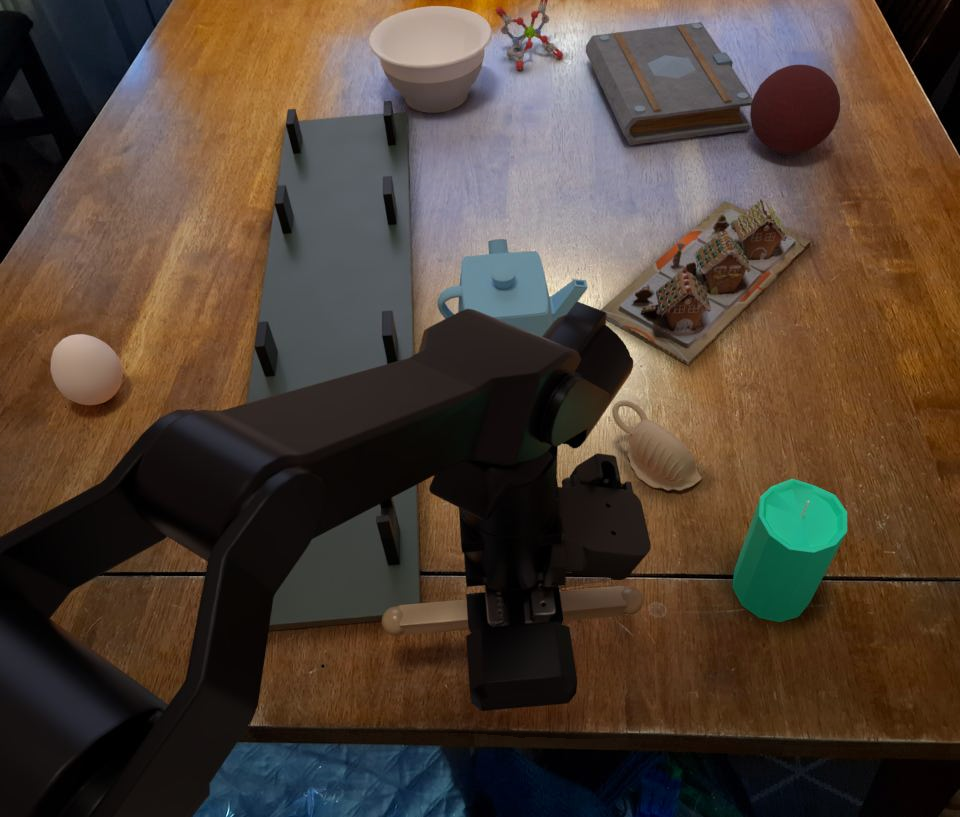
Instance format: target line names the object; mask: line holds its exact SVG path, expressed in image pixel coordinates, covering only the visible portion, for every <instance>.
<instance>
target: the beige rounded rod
mask: <svg viewBox="0 0 960 817" xmlns="http://www.w3.org/2000/svg"><path fill="white" fill-rule="evenodd" d="M559 591H560V598H561V605H562V612H563V622H570V621H571V622H572V621H580V620H581V621H583V620H591V619H593V620H595V619H604V618H615V617H625V616H626V615H629V616H630V615H631V616H632V615H635V614H637V613H639V612H640V611H641V609H642V608H643V606H644V596H643V594H642V592H641V591H640V589H638V588H637V587H635V586H633V585H613V586H602V587H591V588H581V589H580V588H579V589H568V590H559ZM381 625H382V628H383V630H384V631H385V632H386V633H387V634H388V635H390V636H400V635H401V636H411V635H422V634H433V633H434V634H435V633H445V632H457V631H468V630H469V628H468V615H467V599H466V598H465V599H455V600H445V601H443V600H442V601H434V602H421V603H420V604H409V605H399V607H398V606H394V607H391V608H389V609H387V610H386V611H385V613H384V614H383V617H382V621H381ZM469 631H470V630H469Z"/></svg>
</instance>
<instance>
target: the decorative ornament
mask: <svg viewBox="0 0 960 817" xmlns="http://www.w3.org/2000/svg"><path fill="white" fill-rule="evenodd" d="M621 407H627V408H629V409H632V410H633V411H634V412H635V413H636V414H637V415H638V417H639V418H640V421H639V422H638V423H637V424H636V425H635V427H634V428H632V427H630V426H628V425H626V423H624V422H623V420H622V419H621V417H620V415H619V410H620V408H621ZM611 413H612V419H613V420H614V423H615V424H616V425H617V426H618V427H619V429H621V430H622V431H623V432H625V433H626V434H629V439H628V446H627V457H628V459H629V462H630V463H629V464H630V467H631V468H632V469H633V471H634V473H635V476H636V477H637V479H639V480H640V481H642V482H644V483H645V484H646V485H647V486H649V487H650V488H653V489H663V490H665V491H667V492H668V491H669V492H670V491H672V490H674V491H678V492H679V491H680V492H681V491H684V490H686V489H689V488H691V487H694V486H695V485H696V484H698V483H699V482H700V481H701V480H703V477H702V475H700V473H699V472H698V470H697V467H696V466H697V465H696V460H695V458H694V456H693V454H692V452H691V451H690V449H689V448H688V447H687V446H686V445H685V444H684V443H683V442H682V441H681V440H680V439H679V438H678V437H676V436H675V435H674V434H673V433H672V432H671V431H669V430H668V429H666V428H665V427H664V426H662V425H661V424H660V423H657V422H656V421H654V420H650V419H648V417H647V414H646V412H645V411H644V409H642V407H640V406H639V405H638V404H637V403H634V402H632V401H630V400H625V399H622V400H618V401H617V402H616V403H614V405H613V406H612V409H611Z"/></svg>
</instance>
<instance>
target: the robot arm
mask: <svg viewBox="0 0 960 817" xmlns="http://www.w3.org/2000/svg"><path fill="white" fill-rule="evenodd" d="M453 314H454V315H452V316H450V317H448V318H446V319H445V318H444V319H443V320H440V321H438V322H437V323H434V324H432V325H431V326H429V327H427V328H426V329H424V331H423V334H422V338H421V342H420V346H419V350H418V352H416V353H414V355H413V356H411V357H410V358H407V359H404V360H400V361H396V362H393V363H389V364H386V365H382V366H379V367H375V368H372V369H368V370H364V371H361V372H357V373H354V374H350V375H347V376H343V377H339V378H336V379H332V380H329V381H325V382H322V383H318V384H315V385H311V386H307V387H304V388H300V389H297V390H293V391H290V392H286V393H282V394H279V395H275V396H272V397H268V398H265V399H261V400H258V401H254V402H250V403H247V404H246V403H244V404H239V405H236V406H233V407H229V408H226V409H222V410H211V409H199V410H196V409H194V408H190V409H176V410H173V411H171V412H169V413H167V414H165V415H163V416H161V417H159V418H158V419H156V421H155V422H153V423H152V424H151V425H150V426H149V427H148V428H147V429H146V430H145V431H144V432H143V433H141V435H140V436H139V437H138V438H137V440H135V442H134V443H133V444H132V445H131V447H130V448H129V449H128V451H127V452H126V453H125V454H124V455H123V456H122V458H121V459H120V460H119V461H118V463H116V464H115V466H114V467H113V469H112V470H111V471H110V472H109V473H108V475H107V476H106V477H105V478H104V479H103V480H102V481H101V482H99V483H96V484H95V485H93V486H92V487H89V488H88V489H86V490H85V491H82V492H81V493H79V494H77V495H75V496H73V497H71V498H70V499H68V500H66V501H63V502H62V503H60V504H58V505H56V506H55V507H53V508H51V509H49V510H47V511H45V512H44V513H42V514H40V515H38V516H36V517H35V518H32V519H31V520H29V521H27V522H25V523H24V524H22V525H19V526H18V527H16V528H14V529H11V530H10V531H9V532H7V533H5V534H3V535H1V536H0V817H193V816H194V815H195V814H196V813H197V812H198V811H199V810H200V808H201V807H202V805H203V804H205V802H206V801H207V799H208V798H209V797H210V796H211V785H210V784H211V782H212V781H213V780H214V778H215V777H216V775H217V774H218V773H219V771H220V769H221V768H222V766H223V765H224V763H225V762H226V760H227V759H228V757H229V755H231V753H232V751H233V749H234V748H235V747H236V745H237V743H238V742H239V740H240V739H241V737H242V736H243V734H245V732H246V730H247V728H248V727H249V725H250V724H251V723H252V721H253V719H254V717H255V714H256V712H257V709H258V706H259V703H260V702H259V701H260V700H259V699H260V694H261V686H262V679H263V673H264V668H265V659H266V652H267V646H268V638H269V633H270V631H269V625H270V619H271V612H272V605H273V598H274V596H275V593H276V592H277V590H278V589H279V588H280V586H281V585H282V583H283V582H284V580H285V579H286V578H287V576H288V575H289V573H290V572H291V570H292V569H293V567H294V566H295V565H296V563H297V562H298V560H299V559H300V557H301V556H302V555H303V553H304V552H305V550H306V549H307V547H308V545H309V544H310V542H311V540H312V539H314V538H316V537H317V536H319V535H321V534H323V533H325V532H327V531H329V530H331V529H333V528H335V527H337V526H339V525H340V524H342V523H344V522H346V521H348V520H350V519H352V518H354V517H356V516H358V515H360V514H362V513H363V512H365V511H367V510H369V509H371V508H373V507H375V506H377V505H379V504H381V503H383V502H384V501H386V500H388V499H390V498H392V497H394V496H396V495H398V494H400V493H402V492H404V491H406V490H407V489H409V488H411V487H413V486H415V485H417V484H418V485H419V484H421V483H423V482H425V481H426V480H428V479H430V478H432V480H431V482H430V485H429V486H428V489H429V490H428V491H429V493H430V494H431V495H433V496H435V497H437V498H439V499H441V500H443V501H445V502H447V503H449V504H451V505H452V506H455V507H457V508H458V516H459V517H458V518H459V519H458V520H459V532H460V533H459V534H460V546H461V547H460V548H461V553H463V559H464V576H465V584H466V588H470V587H481V586H482V587H484V591H483V592H481V591H480V592H471V593H466V595H465V597H466V598H465V599H467V615H468V628H469V634H467V635H466V636H465V638H466V655H467V669H468V671H467V672H468V686H469V687H468V689H469V695H470V701H471V704H472V705H473V706H474V707H476V708H477V709H478V710H480V711H481V712H488V711H499V710H510V709H523V708H534V707H535V708H536V707H543V706H544V707H545V706H556V705H568V704H569V703H570V702H571V701H572V699H573V698H574V697H575V696H576V694H577V691H578V675H577V669H576V663H575V654H574V649H573V641H572V634H571V628H570V626H568V625H565V624H563V623H564V621H563V612H562V605H561V598H560V591H561V590H560V587H563V586H566V577H567V576H566V574H569V573H570V574H573V575H577V576H587V577H595V578H596V577H597V578H606V579H607V578H608V579H610V580H612V581H624V580H626V579H627V578H628V577H629V576H630V575H631V574H632V572H634V570H635V569H636V568H637V567H638V565H640V563H641V562H642V561H643V560H644V558H645V557H646V556H647V555H648V554H649V552H650V551H651V548H652V547H651V546H652V544H651V539H650V534H649V529H648V526H647V521H646V516H645V512H644V510H643V509H644V508H643V504H642V501H641V499H640V498H639V496H638V495H637V494H635V493H634V489H633V485H632V481H625V482H624V483H622V480H621V474H620V469H619V465H618V461H617V460H618V459H617V456H616V455H613V454H608V453H607V454H606V453H599V452H598V453H595V454H593V455H592V456H590V457H589V458H587V459H585V460H584V461H582V462H581V463H579V464H578V465H576V466H575V467H574V468H573V471H572V472H571V474H570V475H569V477H565V478H563V479H562V480H561V486H559V483H558V447H559V446H561V445H568V446H569V447H570V448H572V449H573V450H574V449H578V448H579V447H581V446H582V445H583V444H584V443H585V442H586V440H587V439H588V437H589V436H590V434H591V433H592V431H593V430H594V428H595V427H596V426H597V424H598V423H599V421H600V420H601V418H602V417H603V415H604V414H605V412H606V411H607V410H608V408H609V406H610V405H611V404H612V402H613V400H614V399H615V398H616V397H617V394H618V393H619V391H620V390H621V389H622V387H623V386H624V385H625V383H626V382H627V380H628V379H629V377H630V376H631V374H632V371H633V369H634V359H633V358H632V356H631V354H630V351H629V349H628V347H627V346H626V344H625V342H624V340H622V339H621V337H620V336H619V334H617V333H616V332H615V331H614V330H613V329H612V328H611V327H609V326H608V325H607V320H606V315H607V313H606V312H604V311H601V309H598V308H596V307H594V306H590V305H588V304H585V303H583V302H580V301H578V302H576V303H575V304H574V306H573V307H572V308H571V309H570V311H569V312H568V313H567V315H564V316H561V317H559V318H557V319H556V320H555V321H554V322H553V323H552V324H551V325H550V327H549V328H548V329H547V330H546V332H545V333H544V334H543V335H542V337H541V336H539V335H536V334H534V333H531V332H529V331H526V330H524V329H521V328H519V327H516V326H514V325H511V324H509V323H506V322H504V321H501V320H499V319H496V318H494V317H491V316H489V315H486V314H484V313H481V312H479V311H476V310H474V309H465V310H462V311H460V312H458V311H457V312H456V313H453ZM166 538H169V539H170V540H172V541H174V542H175V543H177V544H178V545H180V546H182V548H185V549H186V550H188V551H189V552H192V553H193V554H195V555H196V556H198V557H199V558H201V559H203V561H206V569H205V574H204V579H203V584H202V590H201V596H200V600H199V607H198V612H197V616H196V622H195V627H194V633H193V638H192V643H191V648H190V654H189V658H188V659H189V660H188V664H187V670H186V675H185V679H184V681H183V683H182V685H181V686H180V688H179V689H178V691H177V692H176V693H175V695H174V696H173V698H172V699H171V701H169V703H168V702H166V701H164V700H163V699H162V698H160V697H159V696H157V694H155V693H154V692H152V691H150V690H149V689H148V688H147V687H145V686H144V685H142V684H141V683H139V682H138V681H137V680H136V679H134V678H133V677H131V676H130V675H128V674H127V673H126V672H124V671H123V670H122V669H120V668H119V667H118V666H116V665H115V664H114V663H112V662H111V661H110V660H108V659H107V658H105V657H104V656H102V655H101V654H100V653H98V652H97V651H96V650H94V649H93V648H92V647H91V646H88V645H87V644H86V642H85V643H84V642H83V641H82V640H81V639H79V638H78V637H77V636H75V635H74V634H72V633H71V632H70V631H68V630H67V629H65V628H64V627H63V626H61V624H58V623H57V622H56V621H55V620H53V619H52V616H53V615H54V614H55V613H56V611H58V609H59V607H60V606H61V605H62V604H63V603H64V601H65V600H66V599H67V598H68V596H69V595H70V594H71V593H72V592H73V591H74V590H76V589H78V588H79V587H81V586H84V585H85V584H86V583H89V582H90V581H92V580H93V579H96V578H98V577H100V576H101V575H103V574H105V573H106V572H109V571H110V570H112V569H114V568H116V567H117V566H119V565H121V564H123V563H124V562H126V561H128V560H130V559H132V558H134V557H135V556H137V555H139V554H141V553H142V552H144V551H146V550H148V549H149V548H152V547H154V546H155V545H157V544H159V543H160V542H163V541H164V540H165V539H166Z"/></svg>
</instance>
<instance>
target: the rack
mask: <svg viewBox="0 0 960 817" xmlns="http://www.w3.org/2000/svg"><path fill="white" fill-rule="evenodd" d="M393 108H394V107H393V102H392V100H384V101H383V108H382V109H383V112H382V113H374V114H361V115H352V116H351V115H349V116H338V117H327V118H326V117H325V118H313V119H304V120H299V117H298V112H297V109H296V108H289V109H287V112H286V119H285V127H284V133H283V141H282V148H281V154H280V162H279V169H278V176H277V183H276V190H275V197H274V205H273V212H272V219H271V220H272V221H271V226H270V231H269V232H270V233H269V239H268V240H269V241H268V248H267V255H266V261H265V268H264V275H263V281H262V289H261V297H260V302H259V309H258V310H259V311H258V318H257V326H256V331H255V332H256V333H255V338H254V345H253V353H252V361H251V367H250V374H249V382H248V388H247V396H246V402H245V404H247V403H250V402H254V401H258V400H261V399H265V398H268V397H272V396H275V395H279V394H282V393H286V392H290V391H293V390H297V389H300V388H304V387H307V386H311V385H315V384H318V383H322V382H325V381H329V380H332V379H336V378H339V377H343V376H347V375H350V374H354V373H357V372H361V371H364V370H368V369H372V368H375V367H379V366H382V365H386V364H389V363H393V362H396V361H400V360H404V359H407V358H410V357H411V356H413V355H415V338H414V337H415V336H414V332H415V331H414V298H413V296H414V294H413V263H412V262H413V260H412V259H413V258H412V228H411V227H412V222H411V190H410V188H411V187H410V152H409V117H408V111H398V112H394V109H393ZM419 515H420V514H419V484H417V485H415V486H413V487H411V488H409V489H407V490H406V491H404V492H402V493H400V494H398V495H396V496H394V497H392V498H390V499H388V500H386V501H384V502H383V503H381V504H379V505H377V506H375V507H373V508H371V509H369V510H367V511H365V512H363V513H362V514H360V515H358V516H356V517H354V518H352V519H350V520H348V521H346V522H344V523H342V524H340V525H339V526H337V527H335V528H333V529H331V530H329V531H327V532H325V533H323V534H321V535H319V536H317V537H316V538H314V539H312V540H311V542H310V544H309V545H308V547H307V549H306V550H305V552H304V553H303V555H302V556H301V557H300V559H299V560H298V562H297V563H296V565H295V566H294V567H293V569H292V570H291V572H290V573H289V575H288V576H287V578H286V579H285V580H284V582H283V583H282V585H281V586H280V588H279V589H278V590H277V592H276V593H275V596H274V598H273V605H272V612H271V619H270V625H269V632H271V631H272V632H273V631H281V630H283V631H284V630H285V631H286V630H294V629H305V628H316V627H318V628H319V627H329V626H340V625H351V624H361V623H362V624H363V623H364V624H365V623H375V622H382V617H383V614H384V613H385V611H386V610H387V609H389V608H391V607H394V606H398V607H399V605H409V604H420V603H422V595H421V594H422V593H421V592H422V590H421V559H420V558H421V555H420V553H421V552H420V551H421V550H420V522H419V521H420V516H419Z"/></svg>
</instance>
